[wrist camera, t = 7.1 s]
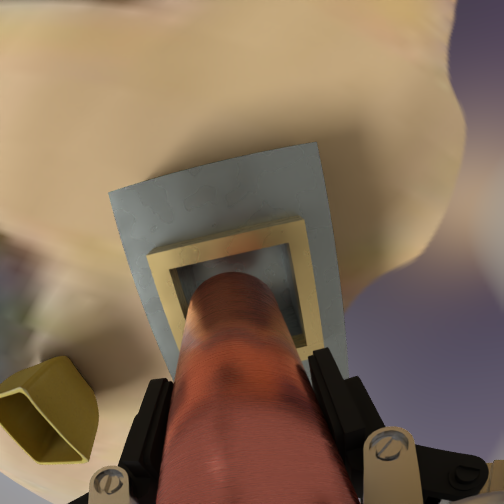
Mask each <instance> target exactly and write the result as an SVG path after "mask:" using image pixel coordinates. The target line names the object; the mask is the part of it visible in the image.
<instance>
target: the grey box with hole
mask: <svg viewBox="0 0 504 504" xmlns="http://www.w3.org/2000/svg"><path fill="white" fill-rule="evenodd" d="M108 194H109V198H110V202H111V205H112V209H113V213H114V217H115V220H116V224H117V227H118V231H119V234H120V238H121V241H122V245H123V248H124V251H125V254H126V257H127V261H128V264H129V267H130V270H131V273H132V276H133V279H134V282H135V285H136V288H137V291H138V293H139V296H140V299H141V302H142V305H143V307H144V310H145V313H146V315H147V318H148V321H149V323H150V326H151V328H152V331H153V334H154V336H155V339H156V341H157V344H158V346H159V348H160V351H161V353H162V356H163V358H164V360H165V363H166V365H167V367H168V370H169V372H170V374H171V376H172V379H173V381H174V379H175V374H176V369H177V363H178V358H179V353H180V347H181V342H182V337H183V332H184V327H185V322H186V318H187V313H188V308H189V303H190V300H191V297H192V295H193V294H194V292H195V290H196V289H197V288H198V287H199V286H200V285H201V284H202V283H203V282H204V281H205V280H207V279H209V278H210V277H212V276H215V275H217V274H221V273H225V272H242V273H247V274H250V275H252V276H255V277H257V278H258V279H260V280H261V281H263V282H264V283H265V284H266V285H267V286H268V287H269V288H270V290H271V291H272V293H273V294H274V297H275V299H276V301H277V304H278V306H279V309H280V311H281V313H282V316H283V318H284V321H285V323H286V325H287V328H288V330H289V333H290V335H291V337H292V340H293V342H294V345H295V347H296V349H297V352H298V354H299V357H300V359H301V361H302V364H303V366H304V369H305V371H306V373H307V376H308V378H309V381H310V383H311V385H312V381H311V374H310V368H309V362H308V356H311V355H313V351H314V350H318V349H322V348H326V347H328V348H329V349H330V351H331V354H332V356H333V358H334V360H335V362H336V364H337V366H338V368H339V371H340V373H341V375H342V377H343V379H347V378H349V372H348V358H347V345H346V333H345V324H344V323H345V322H344V312H343V302H342V294H341V285H340V277H339V269H338V262H337V254H336V247H335V241H334V234H333V228H332V221H331V215H330V209H329V203H328V198H327V192H326V187H325V181H324V176H323V171H322V166H321V161H320V156H319V151H318V146H317V142H312V143H306V144H301V145H295V146H289V147H284V148H279V149H274V150H269V151H264V152H259V153H254V154H249V155H245V156H240V157H236V158H231V159H227V160H223V161H218V162H214V163H210V164H206V165H202V166H198V167H194V168H190V169H186V170H183V171H179V172H175V173H172V174H168V175H164V176H161V177H157V178H154V179H150V180H147V181H144V182H140V183H137V184H134V185H130V186H127V187H124V188H121V189H118V190H115V191H112V192H109V193H108ZM312 388H313V387H312Z"/></svg>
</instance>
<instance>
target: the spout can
mask: <svg viewBox="0 0 504 504" xmlns="http://www.w3.org/2000/svg"><path fill="white" fill-rule="evenodd" d="M156 504H360V502H359V499H358V497H357V494H356V492H355V489H354V487H353V485H352V482H351V480H350V477H349V475H348V472H347V470H346V468H345V465H344V463H343V460H342V458H341V455H340V453H339V451H338V448H337V446H336V444H335V441H334V439H333V436H332V434H331V431H330V429H329V426H328V424H327V422H326V419H325V417H324V414H323V412H322V410H321V407H320V405H319V402H318V400H317V397H316V395H315V393H314V390H313V388H312V385H311V383H310V381H309V378H308V376H307V373H306V371H305V369H304V366H303V364H302V361H301V359H300V357H299V354H298V352H297V349H296V347H295V345H294V342H293V340H292V337H291V335H290V333H289V330H288V328H287V325H286V323H285V321H284V318H283V316H282V313H281V311H280V309H279V306H278V304H277V301H276V299H275V297H274V294H273V293H272V291H271V290H270V288H269V287H268V286H267V285H266V284H265V283H264V282H263V281H261V280H260V279H258V278H257V277H255V276H252V275H250V274H247V273H242V272H225V273H221V274H217V275H215V276H212V277H210V278H209V279H207V280H205V281H204V282H203V283H202V284H201V285H200V286H199V287H198V288H197V289H196V290H195V292H194V294H193V295H192V297H191V300H190V303H189V308H188V313H187V318H186V322H185V327H184V332H183V337H182V342H181V347H180V353H179V358H178V363H177V369H176V374H175V379H174V385H173V391H172V396H171V402H170V408H169V414H168V420H167V427H166V433H165V440H164V446H163V453H162V460H161V467H160V475H159V482H158V490H157V498H156Z"/></svg>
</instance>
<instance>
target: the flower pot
mask: <svg viewBox="0 0 504 504" xmlns="http://www.w3.org/2000/svg"><path fill="white" fill-rule="evenodd" d="M98 421H99V412H98V406H97V401H96V398H95V394H94V392H93V390H92V389H91V387H90V386H89V385H88V384H87V382H86V381H85V380H84V379H83V377H82V376H81V375H80V373H79V372H78V370H77V369H76V368H75V366H74V365H73V363H72V362H71V361H70V359H69V358H68V357H67V356H58V357H54V358H51V359H49V360H47V361H45V362H42V363H40V364H37V365H35V366H32V367H29V368H27V369H24V370H21V371H19V372H17V373H15V374H13V375H12V376H10V377H9V378H7V379H6V380H5V381H4V382H2V383H1V384H0V425H1V427H2V428H3V429H4V430H5V431H6V432H7V433H8V435H9V436H10V437H11V438H12V439H13V440H14V441H15V442H16V443H17V444H18V445H19V446H20V447H21V448H22V449H23V450H24V451H25V452H26V454H28V455H29V456H30V457H31V458H32V459H33V460H34V461H35V462H36V463H37V464H40V465H56V464H83V463H87V462H89V459H90V455H91V451H92V447H93V443H94V439H95V436H96V432H97V428H98Z"/></svg>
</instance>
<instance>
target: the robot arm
mask: <svg viewBox="0 0 504 504" xmlns="http://www.w3.org/2000/svg"><path fill="white" fill-rule="evenodd" d="M308 362H309V368H310V374H311V381H312V387H313V390H314V393H315V395H316V397H317V400H318V402H319V405H320V407H321V410H322V412H323V414H324V417H325V419H326V422H327V424H328V426H329V429H330V431H331V434H332V436H333V439H334V441H335V444H336V446H337V448H338V451H339V453H340V455H341V458H342V460H343V463H344V465H345V468H346V470H347V472H348V475H349V477H350V480H351V482H352V485H353V487H354V489H355V492H356V494H357V497H358V498H360V504H504V460H494V461H493V463H485V461H484V460H483V459H481V458H480V457H477V456H473V455H468V454H461V453H456V452H450V451H445V450H439V449H434V448H429V447H425V446H420V445H416V444H415V443H414V439H413V437H412V435H411V434H410V433H409V432H408V431H406V430H405V429H403V428H399V427H385V425H384V423H383V421H382V419H381V418H380V416H379V414H378V412H377V410H376V408H375V406H374V404H373V402H372V400H371V398H370V397H369V395H368V393H367V391H366V389H365V387H364V386H363V383H362V382H361V380H360V378H359V377H358V376H355V377H352V378H348V379H345V380H344V379H343V377H342V375H341V373H340V371H339V368H338V366H337V364H336V362H335V360H334V358H333V356H332V354H331V351H330V349H329V348H328V347H326V348H322V349H318V350H314V351H313V355H311V356H308ZM173 385H174V384H173V382H172V381H169V382H168V380H167V379H166V378H162V379H153V380H151V381H150V382H149V385H148V388H147V390H146V393H145V396H144V399H143V401H142V404H141V407H140V410H139V413H138V414H137V415H136V416H135V418H134V420H133V423H132V426H131V429H130V432H129V434H128V437H127V440H126V443H125V446H124V449H123V452H122V455H121V458H120V461H119V464H118V466H107V467H103V468H101V469H99V470H98V471H97V472H96V473H94V475H93V476H92V478H91V480H90V485H89V492H88V493H86V494H85V495H83V496H81V497H79V498H77V499H75V500H74V501H72V502H70V503H68V504H156V498H157V490H158V482H159V475H160V467H161V460H162V453H163V446H164V440H165V433H166V427H167V420H168V414H169V408H170V402H171V396H172V391H173Z"/></svg>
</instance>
